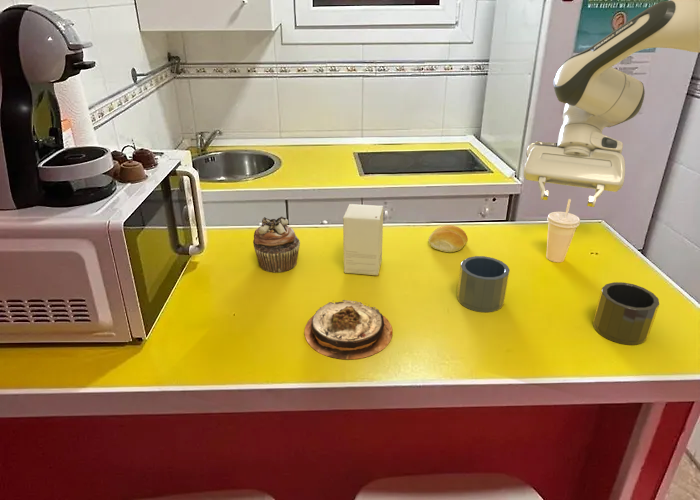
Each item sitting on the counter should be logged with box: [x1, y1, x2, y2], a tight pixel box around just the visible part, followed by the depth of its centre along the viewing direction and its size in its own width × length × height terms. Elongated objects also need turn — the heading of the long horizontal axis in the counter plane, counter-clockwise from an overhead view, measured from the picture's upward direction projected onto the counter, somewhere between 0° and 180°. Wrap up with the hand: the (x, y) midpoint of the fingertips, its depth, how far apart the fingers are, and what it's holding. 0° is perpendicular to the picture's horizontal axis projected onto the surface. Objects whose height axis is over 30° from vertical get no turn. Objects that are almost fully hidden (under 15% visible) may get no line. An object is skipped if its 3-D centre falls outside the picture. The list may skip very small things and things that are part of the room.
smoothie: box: [545, 198, 581, 263], centre depth 109 cm, size 6×6×14 cm
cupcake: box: [252, 216, 301, 274], centre depth 108 cm, size 10×10×10 cm
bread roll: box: [428, 224, 469, 253], centre depth 117 cm, size 8×9×4 cm
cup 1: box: [456, 255, 511, 313], centre depth 96 cm, size 9×9×7 cm
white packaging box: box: [342, 203, 384, 276], centre depth 106 cm, size 7×7×13 cm
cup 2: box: [592, 281, 660, 346], centre depth 88 cm, size 9×9×7 cm
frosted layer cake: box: [304, 299, 393, 360], centre depth 88 cm, size 15×15×4 cm
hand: (567, 202), depth 111 cm, fingers open, 8 cm apart
